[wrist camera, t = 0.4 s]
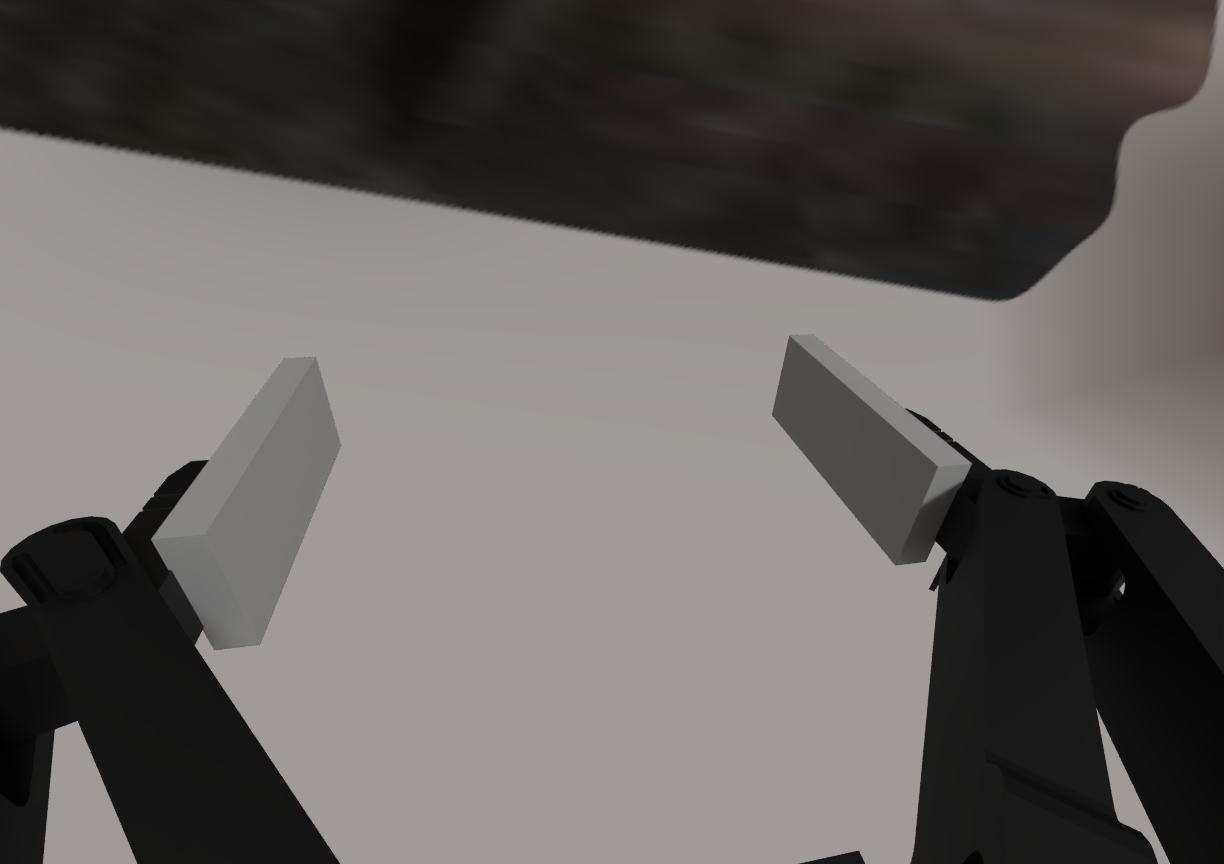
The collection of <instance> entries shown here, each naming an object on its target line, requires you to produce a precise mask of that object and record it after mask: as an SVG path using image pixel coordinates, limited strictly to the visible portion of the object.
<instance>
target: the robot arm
mask: <svg viewBox="0 0 1224 864" xmlns="http://www.w3.org/2000/svg"><path fill="white" fill-rule="evenodd" d="M772 415H773V417H774V418H775V419H776V421H777V422H778V423H779V424H780V425H781V427H782V428H783V429H784V430H785V431H786V433H787V434H788V435H789V436H790V437H791V439H792V440H793V441H794V442H795V444H796V445H797V446H798V447H799V449H800V450H801V451H802V452H803V453H804V455H805V456H806V457H807V458H808V459H809V461H810V462H811V463H812V464H813V466H814V467H815V468H816V469H817V471H818V472H819V473H820V474H821V475H822V477H823V478H824V479H825V480H826V481H827V483H828V484H829V485H830V486H831V488H832V489H833V490H834V491H835V492H836V494H837V495H838V496H839V497H840V499H841V500H842V501H843V502H844V503H845V505H846V506H847V507H848V508H849V510H850V511H851V512H852V513H853V514H854V516H855V517H856V518H857V519H858V521H859V522H860V523H861V524H862V525H863V527H864V528H865V529H866V530H867V531H868V533H869V534H870V535H871V536H872V538H874V540H875V541H876V542H877V544H878V545H879V546H880V547H881V549H882V550H883V551H884V552H885V553H886V555H887V556H888V557H889V558H890V559H891V561H892V562H893V563H894V564H895V565H903V564H910V563H919V562H926V560H927V558H928V556H929V553H930V551H931V549H932V547H933V545H934V543H935V541H936V542H937V543H938V544H939V545H940V546H941V547H942V548H943V549H944V551H945V552H946V553H947V554H946V556H945V558H944V560H943V562H942V564H941V566H940V568H939V570H938V572H937V574H936V576H935V578H934V580H933V582H932V584H931V586H930V588H929V589H930V590H932V591H935V589H936V588H937V586H939V588H938V599H937V600H938V601H937V610H936V621H935V631H934V642H933V653H932V665H931V674H930V685H929V696H928V707H927V718H926V729H925V739H924V750H923V761H922V771H921V783H920V793H919V803H918V814H917V825H916V837H915V845H914V852H913V856H912V860H911V864H1158V862H1157V859H1156V856H1155V853H1154V851H1153V848H1152V845H1151V844H1150V842H1149V841H1148V840H1147V839H1146V838H1145V837H1144V835H1143V834H1142V833H1141V832H1139V831H1137V830H1135V829H1133V828H1131V827H1129V826H1127V825H1125V824H1122V823H1120V822H1119V821H1118V819H1117V816H1116V812H1115V809H1114V804H1113V799H1112V794H1111V787H1110V782H1109V776H1108V771H1107V765H1106V760H1105V754H1104V749H1103V743H1102V738H1101V732H1100V727H1099V721H1098V716H1097V710H1098V712H1099V714H1100V716H1101V719H1102V721H1103V723H1104V725H1105V727H1106V729H1107V731H1108V733H1109V735H1110V738H1111V740H1112V742H1113V744H1114V746H1115V748H1116V750H1117V752H1118V754H1119V757H1120V758H1121V761H1122V763H1123V765H1124V767H1125V769H1126V771H1127V773H1128V776H1129V778H1130V780H1131V782H1132V784H1133V786H1134V788H1135V790H1136V792H1137V794H1138V797H1139V799H1140V801H1141V803H1142V805H1143V807H1144V809H1145V811H1146V813H1147V816H1148V818H1149V820H1150V822H1151V824H1152V826H1153V828H1154V830H1155V832H1156V834H1157V837H1158V839H1159V841H1160V843H1161V845H1162V847H1163V849H1164V851H1165V853H1166V856H1167V857H1168V860H1169V862H1170V864H1224V569H1223V567H1222V566H1221V565H1220V564H1219V563H1218V561H1217V560H1216V559H1215V558H1214V557H1213V556H1212V555H1211V553H1210V552H1209V551H1208V550H1207V549H1206V548H1205V547H1204V545H1202V543H1201V542H1200V541H1199V540H1198V539H1197V537H1196V536H1195V535H1194V534H1193V533H1192V532H1191V531H1190V530H1189V528H1188V527H1187V526H1186V525H1185V524H1184V523H1183V521H1182V520H1181V519H1180V518H1179V517H1178V516H1177V515H1176V514H1175V512H1174V511H1173V510H1172V509H1171V508H1170V507H1169V506H1168V505H1167V504H1165V503H1164V502H1163V501H1162V500H1161V499H1159V498H1157V497H1155V496H1154V495H1152V494H1150V492H1148V491H1147V490H1144V489H1142V488H1138V487H1137V486H1134V485H1131V484H1124V483H1120V482H1113V481H1102V482H1097V483H1095V484H1094V486H1093V487H1092V488H1091V490H1090V491H1089V493H1088V495H1087V496H1086V498H1085V499H1077V498H1068V497H1061V496H1056V494H1055V492H1054V491H1053V490H1052V489H1051V488H1049V487H1048V486H1047V485H1046V484H1045V483H1043V482H1041V481H1039V480H1037V479H1036V478H1034V477H1032V476H1029V475H1026V474H1023V473H1020V472H1016V471H1011V470H1006V469H1005V470H1004V469H1002V470H991V469H990V468H989V467H988V466H986V465H985V464H984V463H983V462H981V461H980V460H979V459H977V458H976V457H975V456H974V455H972V454H971V453H970V452H969V451H967V450H966V449H965V448H963V447H962V446H961V445H960V444H959V443H957V442H956V441H955V442H953V439H952V438H951V437H950V436H949V435H947V434H946V433H945V432H941V429H939V428H938V427H937V426H936V425H935V424H933V423H932V422H931V421H930V420H928V419H927V418H925V417H923V416H921V415H919V414H917V413H915V412H913V411H911V410H909V409H907V408H906V409H904V408H903V407H902V406H900V405H899V404H898V403H897V402H896V401H894V400H893V399H892V398H891V397H889V396H888V395H887V394H886V393H884V392H883V391H882V390H881V389H880V388H878V387H877V386H876V385H875V384H873V383H872V382H871V381H870V380H869V379H867V378H866V377H865V376H863V375H862V374H861V373H860V372H859V371H857V370H856V369H855V368H854V367H852V366H851V365H850V364H849V363H848V362H846V361H845V360H844V359H843V358H841V357H840V356H839V355H838V354H837V353H835V352H834V351H833V350H832V349H830V348H829V347H828V346H827V345H825V344H824V343H823V342H822V341H820V340H819V339H818V338H817V337H816V336H814V335H791V336H789V340H788V344H787V349H786V353H785V358H784V362H783V367H782V371H781V376H780V381H779V385H778V390H777V395H776V399H775V404H774V408H773V413H772ZM340 447H341V443H340V440H339V436H338V433H337V429H336V426H335V422H334V419H333V415H332V411H331V408H330V404H329V401H328V397H327V394H326V390H325V387H324V383H323V380H322V377H321V373H320V369H319V366H318V362H317V359H316V357H303V358H284V359H283V360H282V362H281V363H280V364H279V366H278V367H277V368H276V370H275V371H274V372H273V374H272V375H271V377H270V378H269V379H268V381H267V382H266V384H265V385H264V386H263V388H262V389H261V390H260V392H259V393H258V394H257V396H256V397H255V398H254V400H253V401H252V402H251V404H250V405H249V407H248V408H247V409H246V411H245V412H244V413H243V415H242V416H241V417H240V419H239V420H238V421H237V423H236V424H235V426H234V427H233V428H232V430H231V431H230V432H229V434H228V435H227V437H226V438H225V439H224V441H223V442H222V443H221V445H220V446H219V447H218V449H217V450H216V452H215V453H214V454H213V456H212V457H211V458H210V460H203V461H191V462H189V463H188V464H186V465H185V466H183V467H182V468H180V469H179V470H177V471H176V472H174V473H173V474H171V475H170V476H168V477H167V479H166V480H165V481H164V482H163V484H162V485H161V486H160V487H159V489H158V490H157V491H156V492H155V493H154V497H153V498H150V500H149V501H148V502H147V503H146V505H145V506H144V507H143V512H139V513H138V515H137V516H136V517H135V518H134V519H133V521H132V522H131V523H130V524H129V526H128V527H127V528H126V529H125V531H124V532H123V533H122V534H121V532H120V530H119V529H118V527H117V525H116V524H115V523H114V522H112V521H111V520H109V519H108V518H103V517H93V516H91V517H83V518H76V519H71V520H68V521H64V522H61V523H58V524H55V525H51V526H49V527H47V528H45V529H43V530H41V531H38V532H36V533H35V534H32V535H30V536H28V537H27V538H25V539H24V540H23V541H21V542H20V543H18V544H17V545H16V546H14V547H13V548H11V550H10V551H9V552H8V553H7V554H6V556H5V557H4V558H3V559H2V560H1V566H0V572H1V573H2V574H3V576H4V577H5V578H6V579H7V581H8V582H9V583H10V584H11V586H12V587H13V588H14V589H15V590H16V592H17V593H18V594H19V595H20V597H21V598H22V599H23V600H24V602H25V603H26V604H27V606H24V607H21V608H17V609H13V610H10V611H7V612H3V613H0V864H43V854H44V843H45V833H46V821H47V810H48V799H49V788H50V777H51V765H52V755H53V743H54V732H55V729H57V728H60V727H62V726H65V725H68V724H70V723H73V722H76V721H78V723H79V725H80V728H81V730H82V732H83V735H84V737H85V739H86V742H87V744H88V747H89V749H90V751H91V754H92V756H93V759H94V761H95V763H96V766H97V768H98V770H99V773H100V775H101V778H102V780H103V782H104V785H105V787H106V790H107V792H108V794H109V797H110V799H111V801H112V804H113V806H114V809H115V811H116V814H117V816H118V818H119V821H120V823H121V825H122V828H123V830H124V833H125V835H126V837H127V840H128V842H129V844H130V847H131V849H132V852H133V854H134V856H135V859H136V861H137V864H340V863H339V861H338V860H337V858H336V857H335V856H334V854H333V853H332V851H331V849H330V848H329V846H328V845H327V843H326V842H325V841H324V839H323V837H322V836H321V834H320V833H319V831H318V830H317V828H316V827H315V825H314V824H313V822H312V821H311V819H310V818H309V816H308V815H307V814H306V812H305V810H304V809H303V807H302V806H301V804H300V803H299V801H298V800H297V799H296V797H295V795H294V794H293V793H292V791H291V789H290V788H289V786H288V785H287V783H286V782H285V780H284V779H283V777H282V776H281V775H280V773H279V771H278V770H277V768H276V767H275V765H274V764H273V762H272V761H271V759H270V758H269V756H268V755H267V753H266V752H265V750H264V749H263V747H262V746H261V744H260V743H259V741H258V740H257V739H256V737H255V736H254V734H253V733H252V731H251V730H250V728H249V726H248V725H247V724H246V722H245V720H244V719H243V718H242V716H241V715H240V713H239V712H238V710H237V709H236V707H235V706H234V704H233V703H232V701H231V700H230V698H229V697H228V695H227V694H226V692H225V691H224V689H223V688H222V686H221V685H220V683H219V682H218V680H217V679H216V677H215V676H214V674H213V673H212V671H211V670H210V668H209V667H208V665H207V664H206V662H205V661H204V659H203V658H202V656H201V655H200V653H199V652H198V650H197V649H196V647H195V646H194V645H195V643H196V641H197V640H198V638H199V636H200V634H201V632H202V630H203V631H204V633H205V635H206V637H207V638H208V640H209V642H210V644H211V645H212V647H213V649H214V650H220V649H228V648H237V647H244V646H252V645H260V643H261V641H262V638H263V636H264V633H265V631H266V629H267V626H268V624H269V621H270V619H271V616H272V614H273V611H274V609H275V606H276V604H277V602H278V599H279V596H280V594H281V592H282V589H283V587H284V584H285V582H286V579H287V577H288V574H289V572H290V570H291V567H292V565H293V562H294V560H295V557H296V555H297V552H298V550H299V547H300V545H301V543H302V540H303V538H304V535H305V533H306V530H307V528H308V526H309V523H310V521H311V518H312V516H313V513H314V511H315V508H316V506H317V503H318V501H319V498H320V496H321V493H322V491H323V489H324V486H325V484H326V481H327V479H328V476H329V474H330V472H331V469H332V466H333V464H334V462H335V459H336V457H337V454H338V452H339V449H340ZM1124 582H1125V589H1124V593H1123V595H1122V593H1121V592H1120V590H1119V589H1120V587H1121V586H1122V585H1123V583H1124ZM1096 708H1097V710H1096ZM800 864H865V862H864V860H863V858H862V856H861V854H860V852H859V851H855V852H850V853H846V854H841V855H837V856H832V857H827V858H823V859H818V860H814V861H809V862H805V863H800Z"/></svg>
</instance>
